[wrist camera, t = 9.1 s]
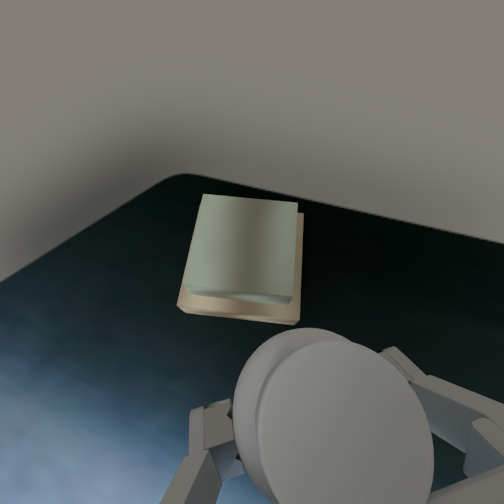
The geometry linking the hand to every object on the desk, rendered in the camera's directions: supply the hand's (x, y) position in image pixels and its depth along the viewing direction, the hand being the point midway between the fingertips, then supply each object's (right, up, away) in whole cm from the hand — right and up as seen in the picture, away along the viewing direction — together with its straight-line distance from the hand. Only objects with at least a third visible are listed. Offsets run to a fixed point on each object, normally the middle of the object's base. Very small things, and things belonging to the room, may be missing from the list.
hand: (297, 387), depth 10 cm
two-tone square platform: (-2, +4, +15) cm, 16 cm away
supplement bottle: (0, -3, +5) cm, 5 cm away
